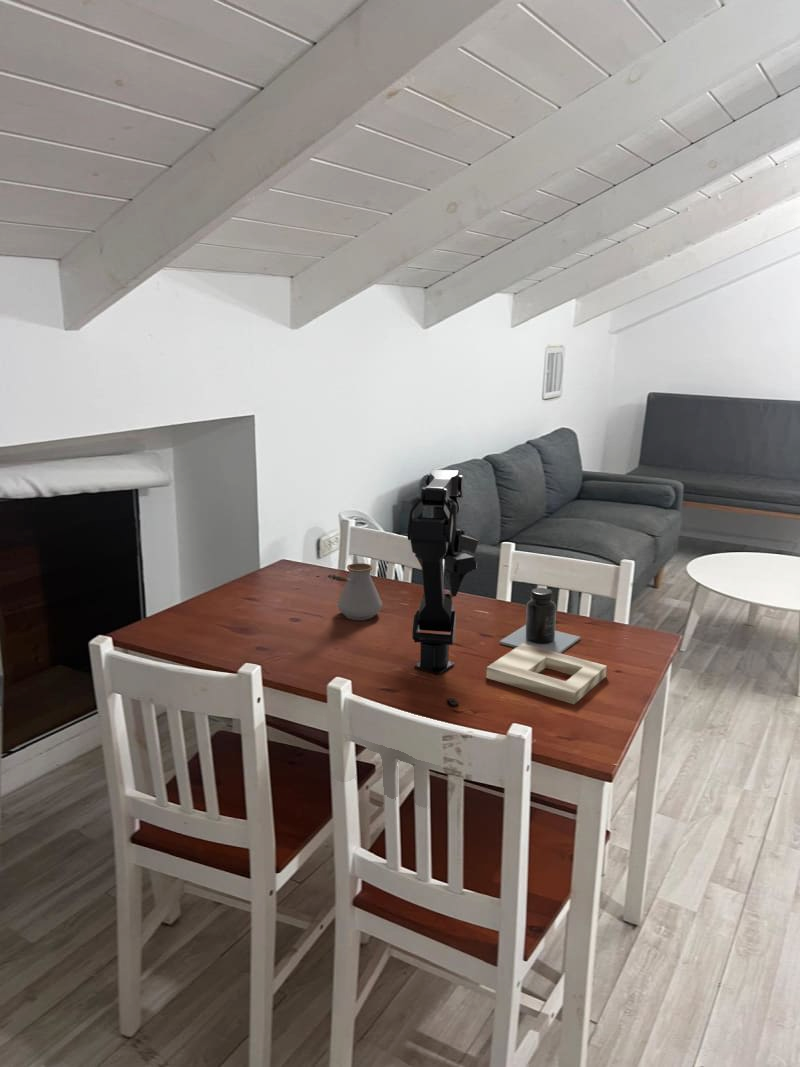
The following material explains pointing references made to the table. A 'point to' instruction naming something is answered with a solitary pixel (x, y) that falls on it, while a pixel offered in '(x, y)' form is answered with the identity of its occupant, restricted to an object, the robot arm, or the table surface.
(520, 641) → the rubber mat
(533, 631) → the supplement bottle
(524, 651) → the well board
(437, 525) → the robot arm
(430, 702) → the table surface
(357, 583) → the coffee pot
